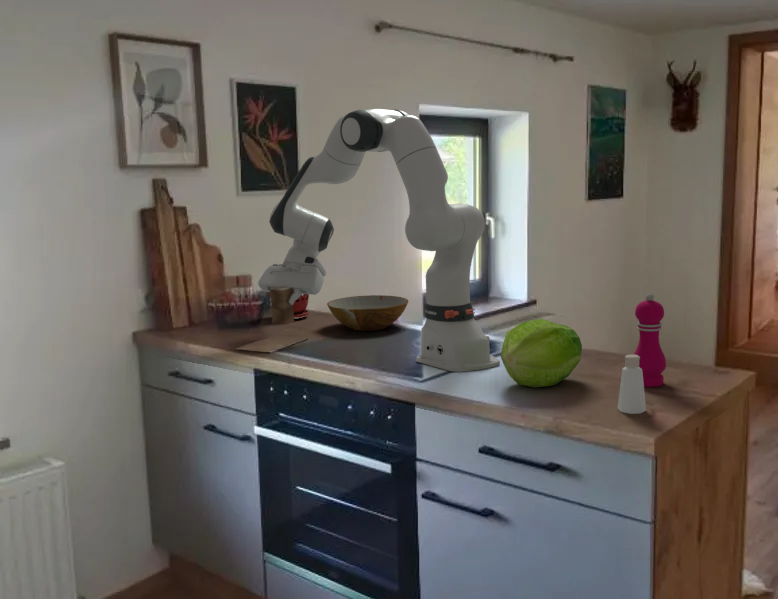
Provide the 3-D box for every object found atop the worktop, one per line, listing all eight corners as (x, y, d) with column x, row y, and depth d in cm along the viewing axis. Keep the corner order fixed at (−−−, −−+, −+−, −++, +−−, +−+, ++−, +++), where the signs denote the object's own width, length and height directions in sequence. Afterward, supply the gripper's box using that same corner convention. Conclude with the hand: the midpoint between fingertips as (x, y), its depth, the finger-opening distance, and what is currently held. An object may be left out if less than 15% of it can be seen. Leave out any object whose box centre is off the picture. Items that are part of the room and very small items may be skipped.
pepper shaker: (611, 408, 161) (612, 354, 160) (632, 404, 164) (633, 351, 162) (630, 415, 156) (631, 360, 155) (652, 411, 159) (653, 356, 157)
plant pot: (299, 313, 279) (297, 278, 277) (317, 318, 268) (315, 282, 266) (264, 318, 273) (262, 282, 271) (280, 323, 262) (278, 287, 260)
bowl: (315, 334, 243) (313, 308, 242) (345, 318, 267) (344, 294, 265) (395, 337, 235) (394, 310, 234) (419, 320, 259) (418, 295, 257)
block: (294, 321, 236) (292, 286, 235) (285, 324, 233) (283, 289, 231) (281, 320, 239) (279, 286, 237) (272, 323, 235) (270, 288, 233)
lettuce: (545, 397, 167) (485, 394, 178) (602, 374, 182) (544, 373, 194) (536, 328, 166) (477, 329, 177) (595, 310, 181) (536, 313, 193)
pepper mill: (627, 379, 182) (628, 291, 179) (660, 378, 182) (661, 290, 178) (636, 388, 175) (637, 296, 171) (670, 387, 175) (672, 295, 171)
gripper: (265, 257, 243) (246, 295, 237) (322, 259, 234) (305, 298, 227) (274, 270, 248) (257, 307, 241) (331, 272, 238) (314, 311, 232)
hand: (280, 303), depth 234 cm, fingers closed on block, 4 cm apart
